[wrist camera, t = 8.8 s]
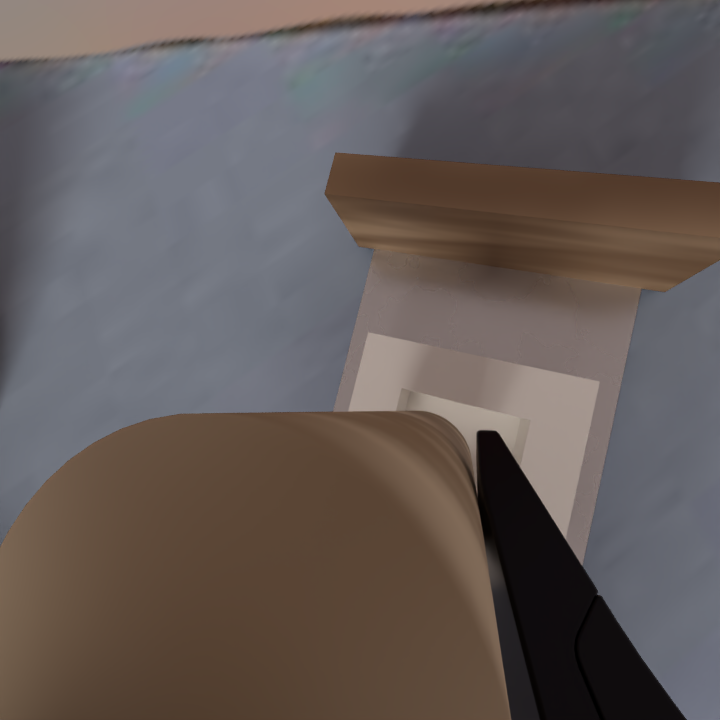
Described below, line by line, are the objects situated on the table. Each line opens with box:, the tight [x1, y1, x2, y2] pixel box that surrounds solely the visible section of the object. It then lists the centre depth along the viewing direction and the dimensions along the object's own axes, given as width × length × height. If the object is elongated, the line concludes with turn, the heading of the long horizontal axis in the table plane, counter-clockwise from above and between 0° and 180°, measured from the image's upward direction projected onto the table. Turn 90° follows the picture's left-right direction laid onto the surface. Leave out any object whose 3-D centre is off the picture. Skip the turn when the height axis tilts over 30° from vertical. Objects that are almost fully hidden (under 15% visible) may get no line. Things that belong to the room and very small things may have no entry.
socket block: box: [348, 332, 600, 539], centre depth 19 cm, size 10×10×4 cm
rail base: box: [325, 153, 720, 565], centre depth 18 cm, size 18×16×7 cm
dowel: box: [0, 411, 511, 720], centre depth 9 cm, size 4×4×13 cm
